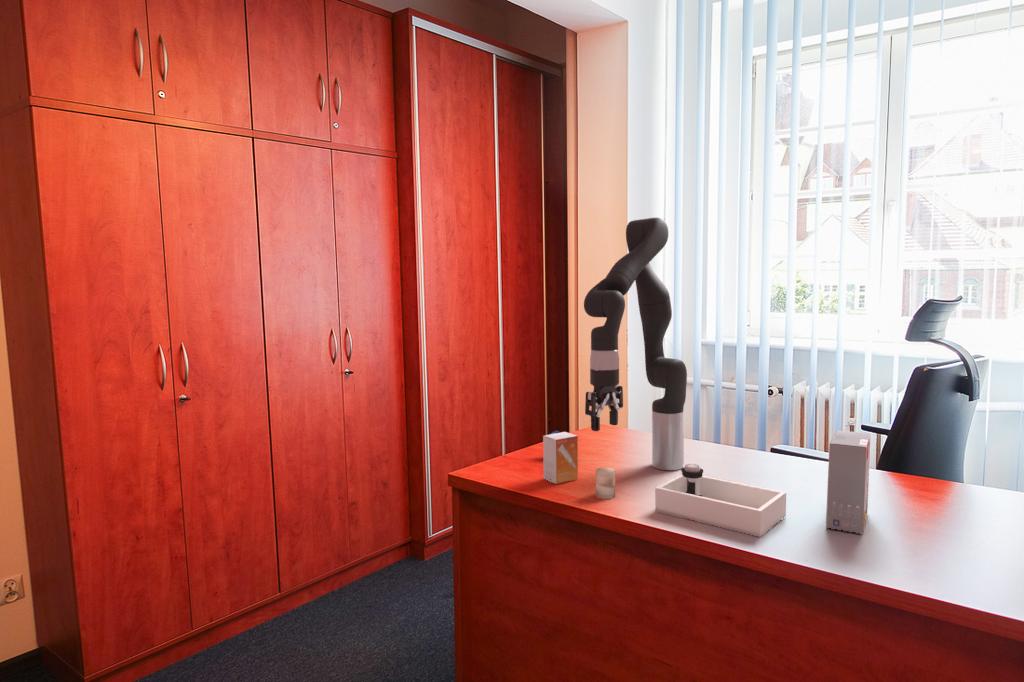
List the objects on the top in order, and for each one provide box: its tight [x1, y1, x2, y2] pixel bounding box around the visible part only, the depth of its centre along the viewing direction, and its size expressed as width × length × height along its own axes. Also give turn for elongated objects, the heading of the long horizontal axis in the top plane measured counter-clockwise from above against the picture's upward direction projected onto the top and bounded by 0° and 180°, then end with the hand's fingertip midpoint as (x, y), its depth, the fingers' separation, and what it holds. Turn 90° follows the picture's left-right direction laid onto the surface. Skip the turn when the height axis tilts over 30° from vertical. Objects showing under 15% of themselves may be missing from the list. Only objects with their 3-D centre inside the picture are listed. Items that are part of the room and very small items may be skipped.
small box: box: [542, 431, 579, 485], centre depth 187 cm, size 8×6×13 cm
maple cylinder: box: [595, 467, 616, 500], centre depth 172 cm, size 5×5×7 cm
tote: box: [654, 473, 787, 538], centre depth 157 cm, size 16×26×6 cm, turn 48°
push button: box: [680, 463, 704, 497], centre depth 161 cm, size 7×5×10 cm
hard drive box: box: [825, 429, 872, 534], centre depth 150 cm, size 16×8×20 cm, turn 148°
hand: (604, 427), depth 171 cm, fingers open, 8 cm apart
